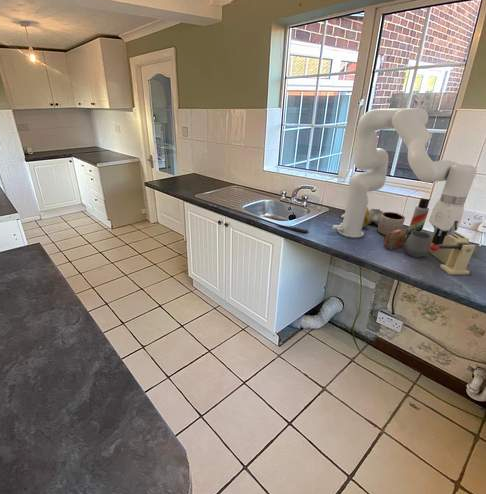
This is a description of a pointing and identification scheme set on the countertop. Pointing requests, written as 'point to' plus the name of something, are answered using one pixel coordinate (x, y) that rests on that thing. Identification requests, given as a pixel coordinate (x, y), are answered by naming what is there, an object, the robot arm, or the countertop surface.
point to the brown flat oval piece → (395, 238)
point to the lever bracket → (459, 259)
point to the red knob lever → (446, 246)
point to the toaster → (448, 240)
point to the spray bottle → (419, 216)
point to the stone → (366, 218)
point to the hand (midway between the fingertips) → (436, 243)
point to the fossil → (375, 216)
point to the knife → (295, 229)
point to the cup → (418, 244)
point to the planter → (390, 222)
